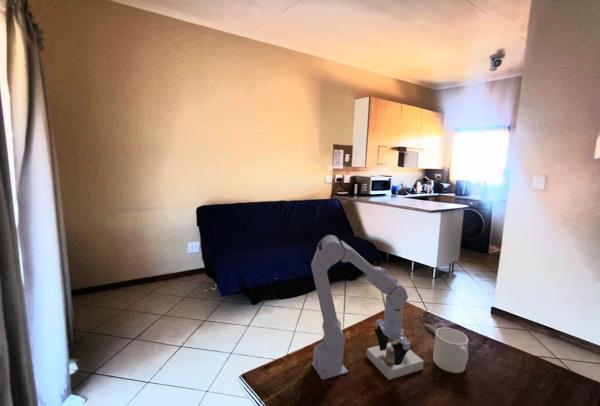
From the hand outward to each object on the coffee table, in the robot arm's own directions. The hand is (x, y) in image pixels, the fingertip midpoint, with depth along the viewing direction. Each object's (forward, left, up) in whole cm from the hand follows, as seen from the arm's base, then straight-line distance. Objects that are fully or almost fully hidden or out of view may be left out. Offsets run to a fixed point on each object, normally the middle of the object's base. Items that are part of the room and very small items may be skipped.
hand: (390, 356), depth 98 cm
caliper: (+30, +7, -5) cm, 31 cm away
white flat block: (+4, +2, -4) cm, 6 cm away
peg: (0, 0, -4) cm, 4 cm away
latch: (+8, +3, +1) cm, 9 cm away
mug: (+21, -6, -5) cm, 22 cm away
